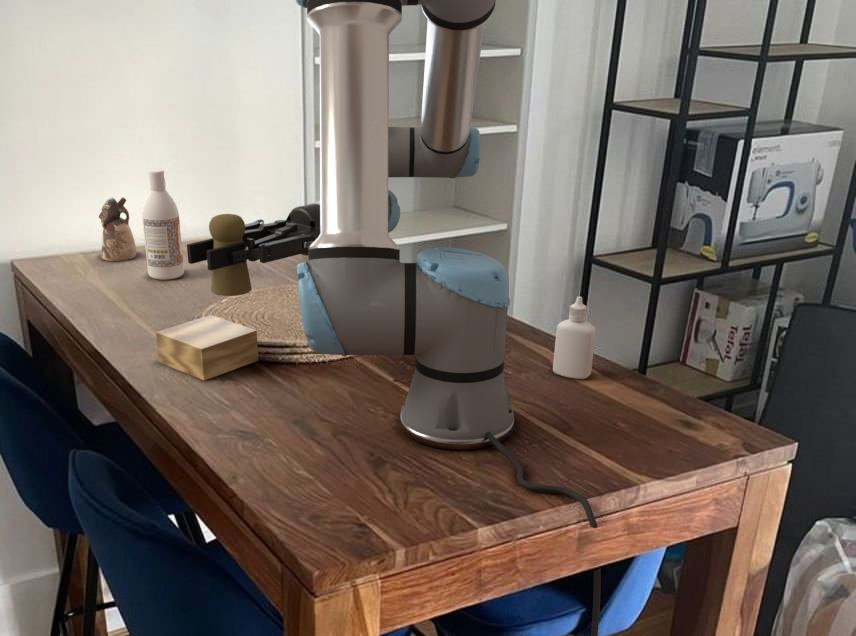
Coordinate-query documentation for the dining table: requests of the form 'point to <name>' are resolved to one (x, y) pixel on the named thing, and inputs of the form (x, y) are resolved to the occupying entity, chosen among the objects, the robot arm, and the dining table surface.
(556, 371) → the eye dropper bottle
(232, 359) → the riser block
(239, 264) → the olive green peg figure
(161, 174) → the bath foam
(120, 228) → the figurine
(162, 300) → the dining table surface
